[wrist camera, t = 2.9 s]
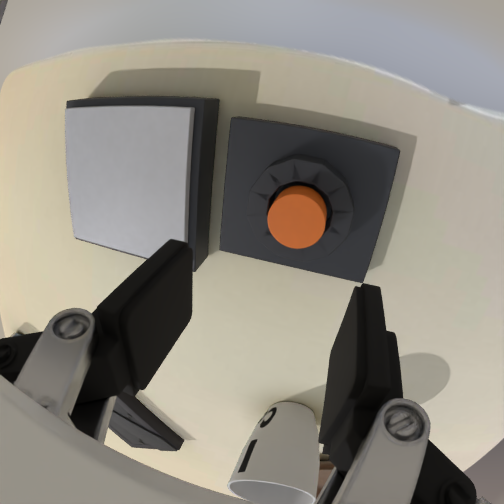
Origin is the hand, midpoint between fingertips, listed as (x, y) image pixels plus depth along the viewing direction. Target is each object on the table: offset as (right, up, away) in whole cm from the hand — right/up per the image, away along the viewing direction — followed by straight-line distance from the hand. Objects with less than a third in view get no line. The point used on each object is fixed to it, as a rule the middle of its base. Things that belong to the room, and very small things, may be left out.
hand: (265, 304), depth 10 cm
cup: (+4, -16, +20) cm, 26 cm away
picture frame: (-21, -22, +31) cm, 43 cm away
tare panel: (+3, +5, +10) cm, 11 cm away
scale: (-9, +8, +12) cm, 17 cm away
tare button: (+2, +4, +8) cm, 9 cm away
